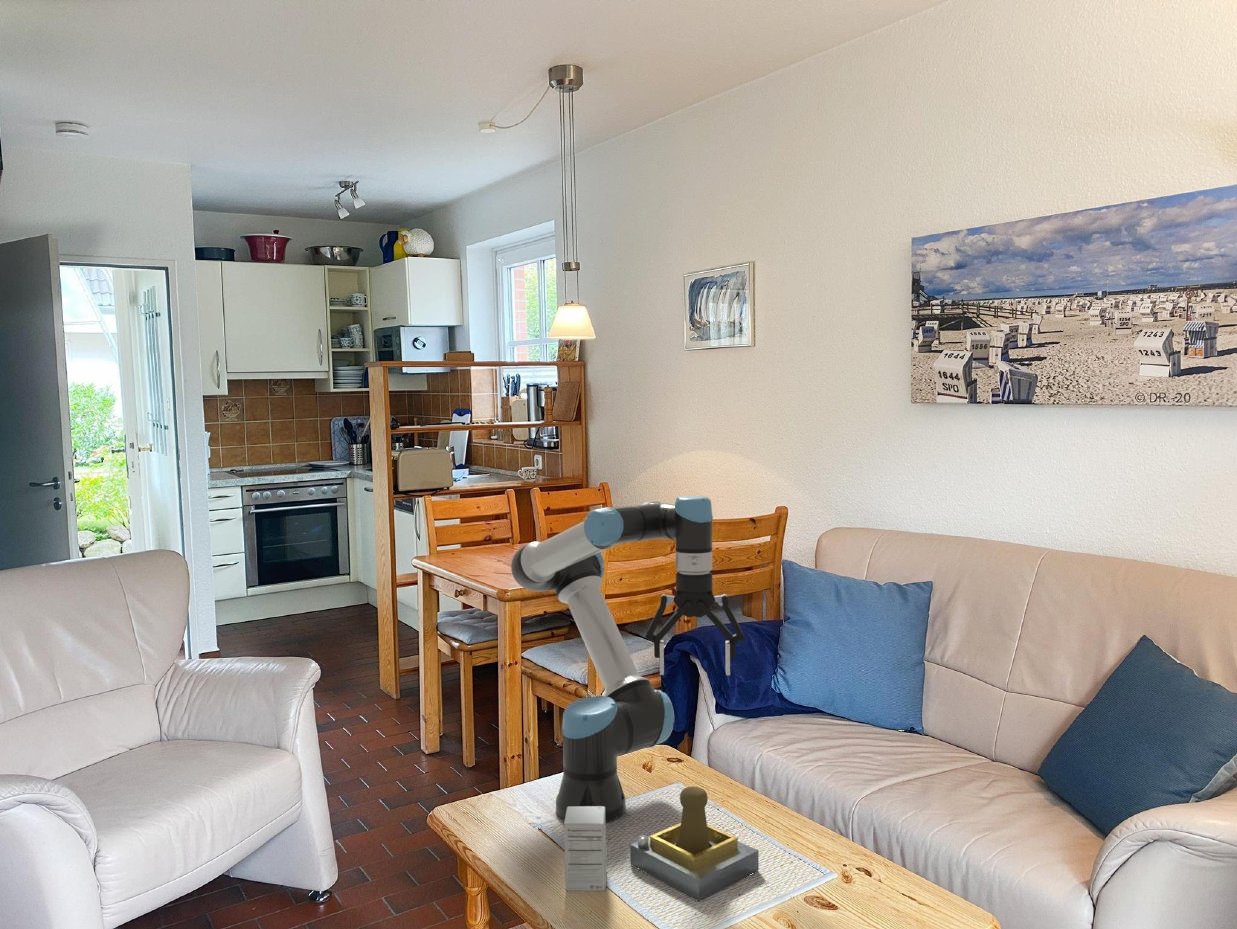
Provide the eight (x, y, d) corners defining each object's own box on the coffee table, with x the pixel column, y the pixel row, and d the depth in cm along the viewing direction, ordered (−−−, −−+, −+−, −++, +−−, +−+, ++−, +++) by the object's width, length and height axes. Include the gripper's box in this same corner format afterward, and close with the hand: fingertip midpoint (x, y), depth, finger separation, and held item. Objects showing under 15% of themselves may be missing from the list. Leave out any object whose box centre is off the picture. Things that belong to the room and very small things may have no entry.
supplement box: (567, 871, 172) (566, 805, 172) (607, 871, 172) (606, 805, 171) (564, 891, 165) (563, 822, 164) (605, 891, 165) (604, 822, 164)
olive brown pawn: (708, 855, 169) (708, 796, 169) (675, 852, 170) (675, 794, 170) (711, 840, 175) (711, 783, 175) (680, 837, 176) (679, 781, 176)
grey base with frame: (630, 864, 174) (630, 833, 174) (689, 838, 185) (689, 809, 185) (699, 902, 161) (698, 868, 161) (758, 871, 171) (758, 839, 171)
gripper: (632, 574, 186) (633, 678, 187) (756, 574, 184) (757, 678, 185) (634, 568, 194) (635, 667, 195) (753, 568, 192) (754, 668, 193)
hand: (694, 673), depth 190 cm, fingers open, 13 cm apart
